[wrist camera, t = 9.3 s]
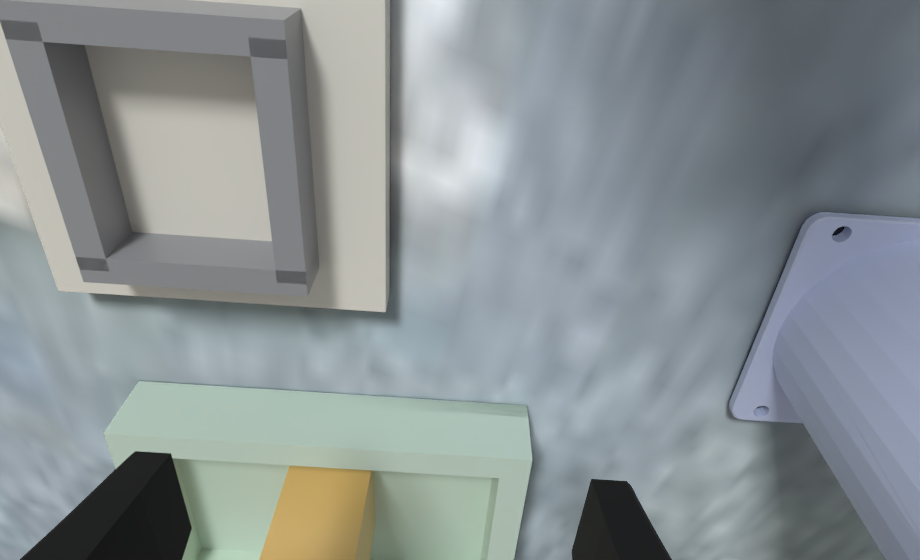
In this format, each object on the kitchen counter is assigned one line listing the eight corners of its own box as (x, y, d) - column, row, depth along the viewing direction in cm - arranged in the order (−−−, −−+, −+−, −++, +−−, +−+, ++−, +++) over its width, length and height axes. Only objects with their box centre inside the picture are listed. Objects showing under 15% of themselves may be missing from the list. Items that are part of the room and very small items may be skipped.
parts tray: (527, 405, 22) (532, 459, 20) (499, 566, 28) (501, 623, 26) (138, 381, 22) (103, 433, 20) (187, 548, 27) (163, 603, 25)
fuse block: (390, -60, 14) (375, -51, 12) (389, 293, 20) (379, 342, 18) (-43, -93, 14) (-133, -89, 12) (76, 273, 20) (28, 320, 18)
